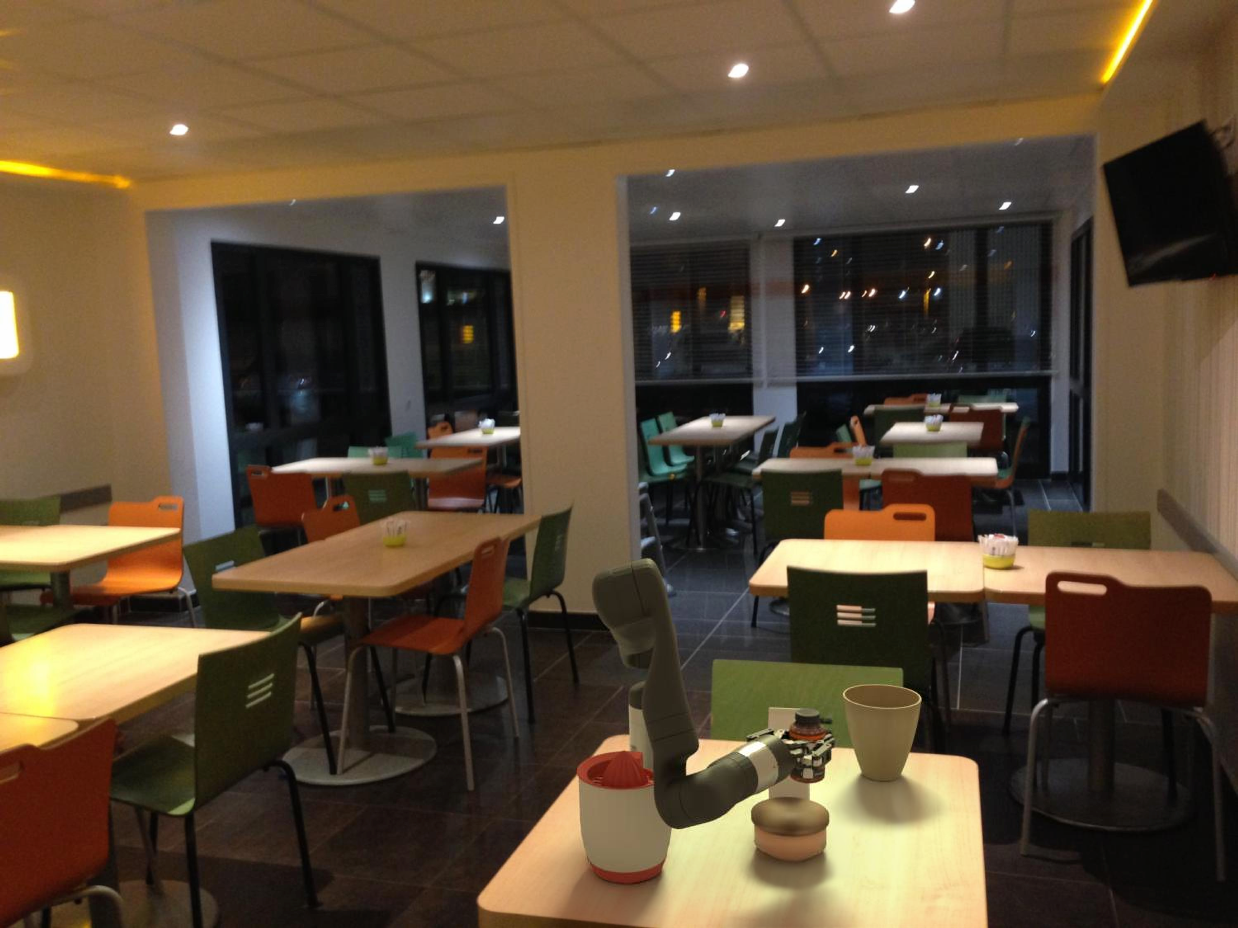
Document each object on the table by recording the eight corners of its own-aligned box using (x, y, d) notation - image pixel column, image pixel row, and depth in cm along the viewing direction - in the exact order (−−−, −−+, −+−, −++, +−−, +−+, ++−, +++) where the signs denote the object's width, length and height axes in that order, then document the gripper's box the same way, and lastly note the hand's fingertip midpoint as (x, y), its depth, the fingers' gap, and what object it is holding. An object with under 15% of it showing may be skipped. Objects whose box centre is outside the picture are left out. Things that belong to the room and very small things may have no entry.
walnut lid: (757, 837, 174) (757, 831, 173) (745, 803, 186) (745, 798, 186) (837, 834, 174) (837, 828, 174) (819, 800, 187) (819, 795, 187)
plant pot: (909, 794, 201) (909, 712, 200) (833, 780, 209) (832, 701, 207) (929, 767, 214) (929, 689, 212) (856, 754, 222) (856, 679, 220)
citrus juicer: (701, 861, 178) (699, 745, 175) (628, 902, 165) (624, 777, 163) (633, 833, 189) (630, 723, 186) (560, 869, 176) (555, 752, 174)
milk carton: (808, 818, 193) (807, 715, 191) (768, 815, 194) (767, 714, 192) (809, 801, 200) (808, 702, 198) (771, 799, 201) (769, 701, 199)
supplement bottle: (817, 787, 174) (817, 720, 173) (783, 780, 177) (783, 714, 176) (830, 774, 179) (830, 709, 178) (797, 768, 183) (796, 703, 181)
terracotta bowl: (760, 868, 175) (760, 836, 174) (749, 835, 187) (748, 804, 186) (834, 865, 175) (833, 833, 174) (817, 832, 187) (817, 802, 186)
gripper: (796, 753, 162) (853, 723, 174) (719, 732, 172) (778, 704, 184) (796, 801, 163) (853, 767, 175) (720, 777, 173) (778, 746, 185)
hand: (814, 735), depth 180 cm, fingers closed on supplement bottle, 6 cm apart
